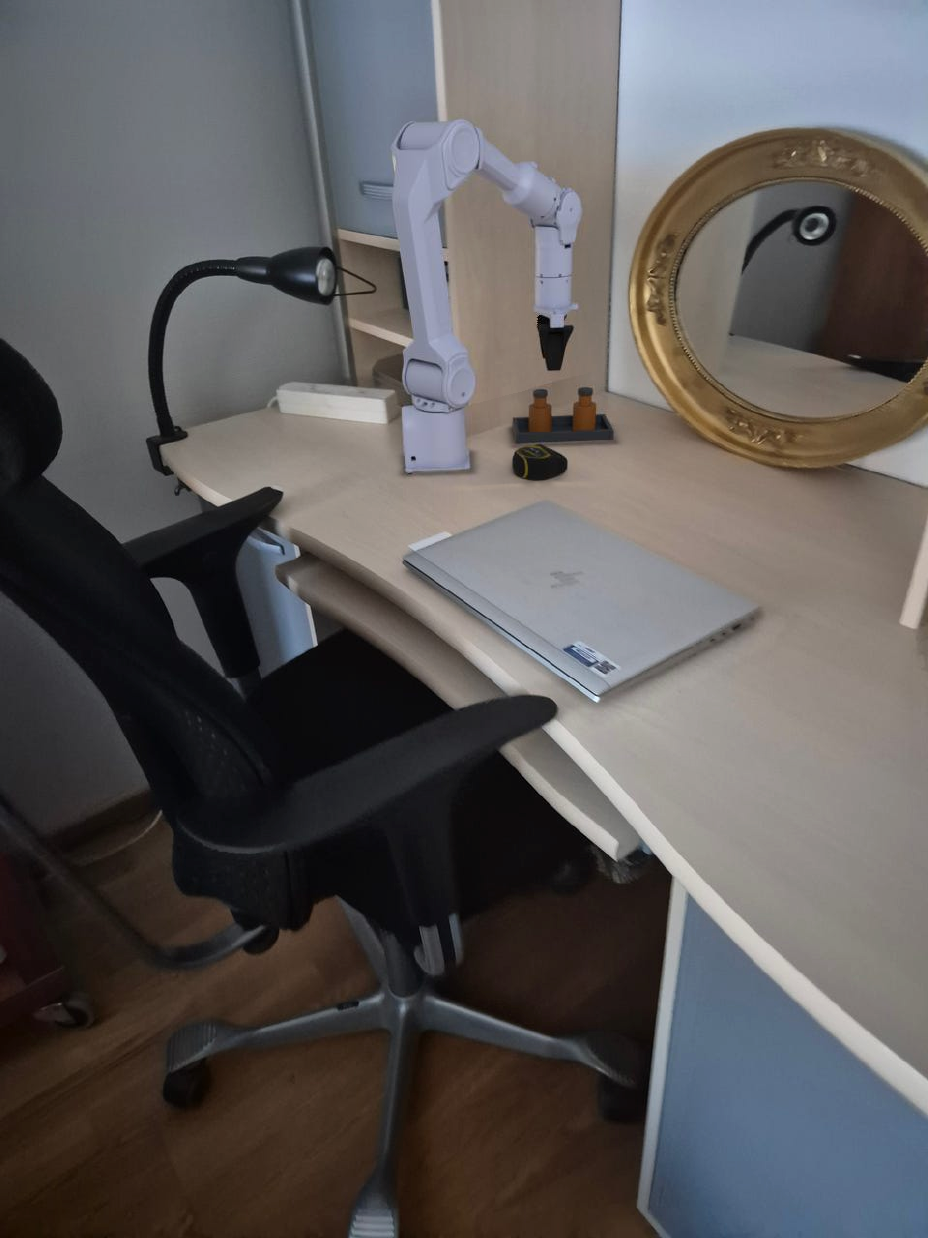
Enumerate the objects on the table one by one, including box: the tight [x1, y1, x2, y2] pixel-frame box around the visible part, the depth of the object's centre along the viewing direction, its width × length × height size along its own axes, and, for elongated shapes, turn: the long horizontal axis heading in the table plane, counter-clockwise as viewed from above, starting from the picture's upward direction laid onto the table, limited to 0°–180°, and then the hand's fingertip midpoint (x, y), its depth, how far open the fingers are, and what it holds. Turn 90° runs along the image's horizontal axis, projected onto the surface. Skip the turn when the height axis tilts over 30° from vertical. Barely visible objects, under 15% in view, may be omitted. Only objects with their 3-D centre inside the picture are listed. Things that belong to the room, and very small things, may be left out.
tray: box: [512, 413, 614, 445], centre depth 130 cm, size 15×8×2 cm, turn 91°
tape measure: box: [511, 443, 569, 481], centre depth 115 cm, size 7×7×4 cm
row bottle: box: [528, 388, 552, 432], centre depth 128 cm, size 4×4×7 cm
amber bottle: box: [572, 386, 597, 431], centre depth 128 cm, size 4×4×7 cm
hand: (551, 363), depth 132 cm, fingers open, 7 cm apart
